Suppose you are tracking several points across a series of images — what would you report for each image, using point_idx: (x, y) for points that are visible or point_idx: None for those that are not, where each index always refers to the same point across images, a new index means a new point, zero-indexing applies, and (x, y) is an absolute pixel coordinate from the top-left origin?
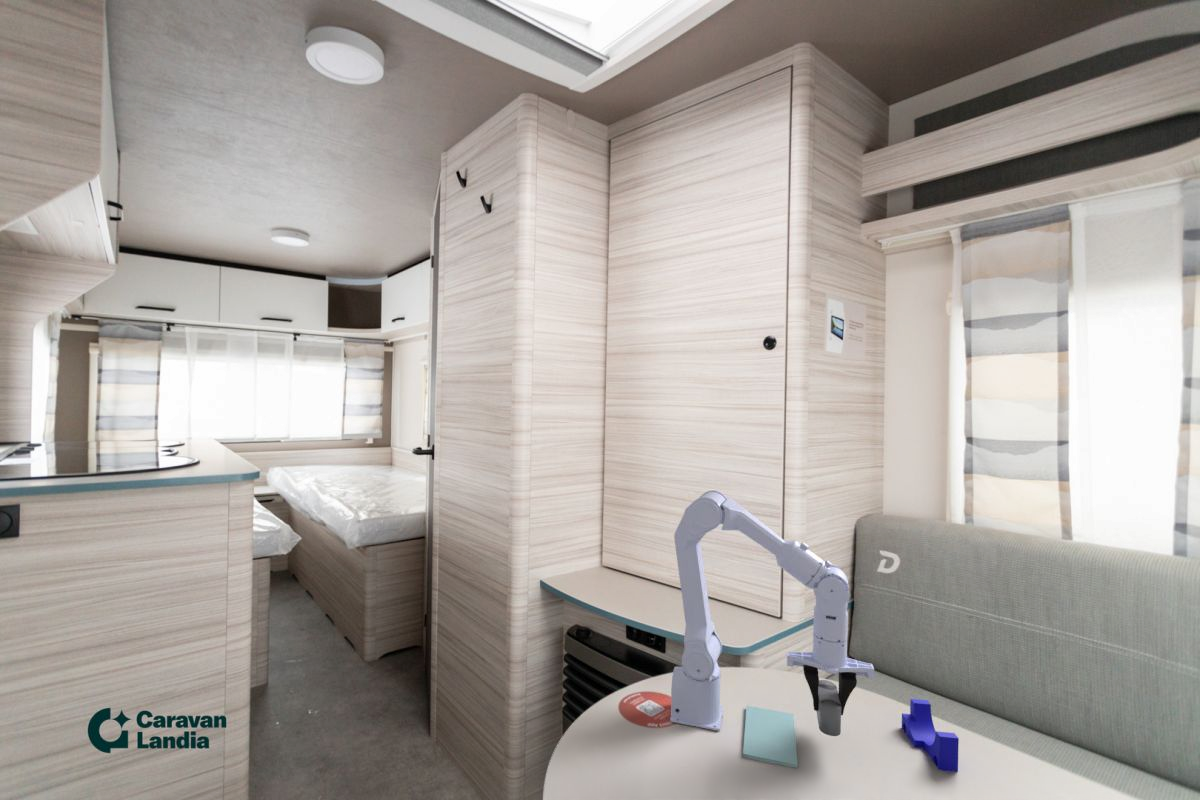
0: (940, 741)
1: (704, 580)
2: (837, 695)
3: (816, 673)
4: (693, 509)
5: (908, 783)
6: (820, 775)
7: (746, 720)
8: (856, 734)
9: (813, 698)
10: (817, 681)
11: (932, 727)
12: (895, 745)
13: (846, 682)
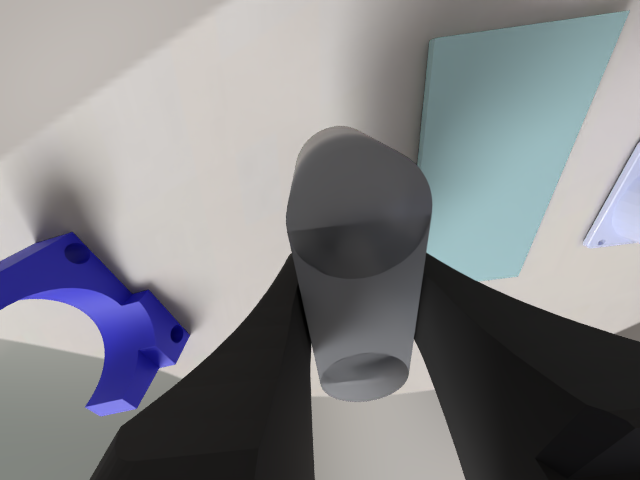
0: None
1: None
2: (314, 328)
3: (573, 474)
4: None
5: (109, 133)
6: (355, 35)
7: (540, 217)
8: (269, 281)
9: (444, 265)
10: (548, 368)
11: (107, 348)
12: (185, 278)
13: (198, 469)
